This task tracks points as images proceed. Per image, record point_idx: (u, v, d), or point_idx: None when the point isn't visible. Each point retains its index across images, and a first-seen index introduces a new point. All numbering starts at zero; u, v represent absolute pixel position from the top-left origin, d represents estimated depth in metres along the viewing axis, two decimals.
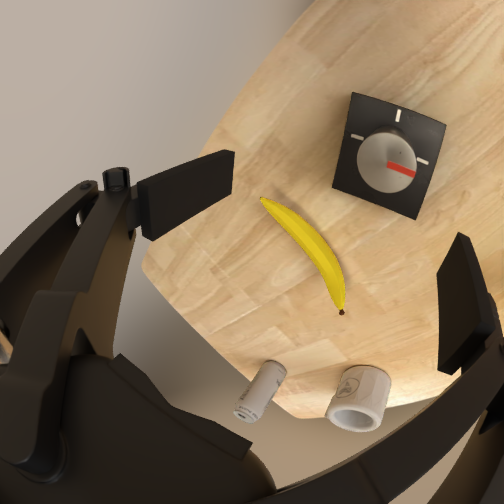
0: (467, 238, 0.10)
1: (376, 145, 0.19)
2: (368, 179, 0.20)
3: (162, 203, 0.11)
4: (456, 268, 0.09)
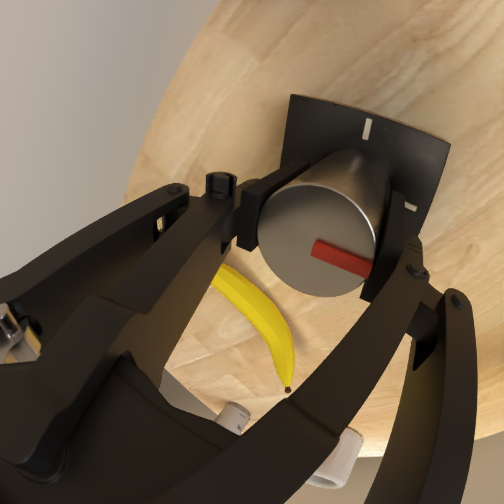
0: (401, 195, 0.13)
1: (291, 211, 0.10)
2: (279, 271, 0.12)
3: None
4: (385, 217, 0.12)
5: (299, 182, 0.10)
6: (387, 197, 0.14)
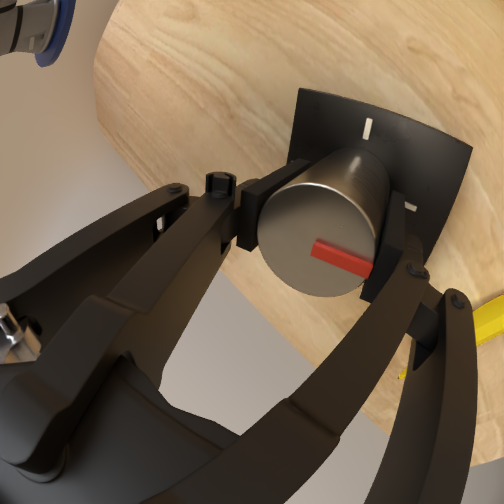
0: (401, 195, 0.13)
1: (291, 210, 0.10)
2: (279, 271, 0.12)
3: None
4: (385, 217, 0.12)
5: (299, 182, 0.10)
6: (387, 197, 0.14)
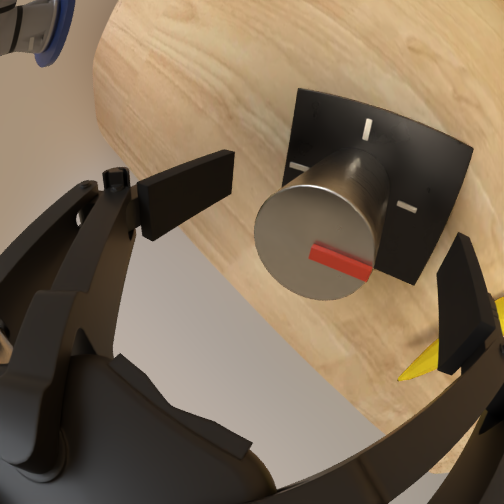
0: (467, 238, 0.10)
1: (288, 213, 0.10)
2: (277, 274, 0.12)
3: (162, 203, 0.11)
4: (456, 268, 0.09)
5: (296, 184, 0.09)
6: (387, 198, 0.13)
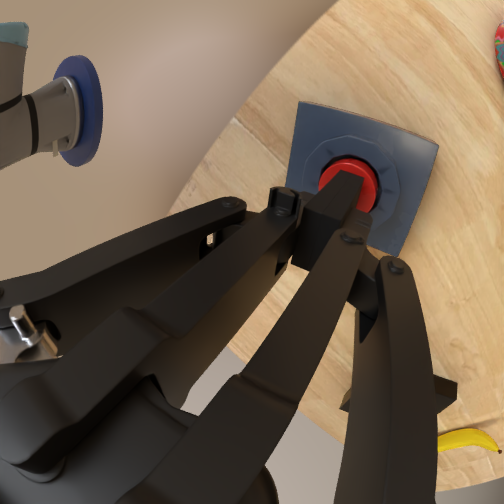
0: (360, 177, 0.14)
1: None
2: None
3: None
4: None
5: None
6: None
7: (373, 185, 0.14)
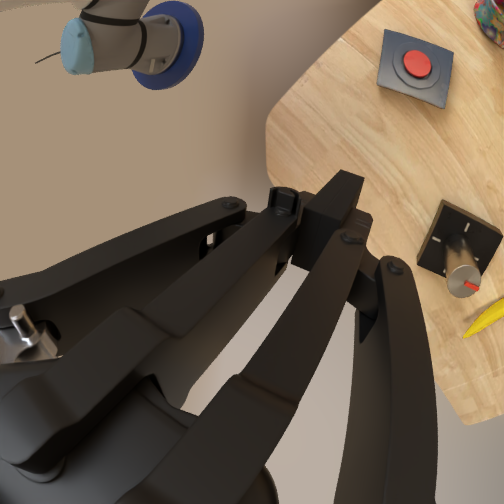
0: (361, 177, 0.14)
1: (461, 272, 0.26)
2: (451, 290, 0.28)
3: None
4: None
5: (466, 264, 0.25)
6: None
7: (429, 60, 0.21)
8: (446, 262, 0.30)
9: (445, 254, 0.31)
